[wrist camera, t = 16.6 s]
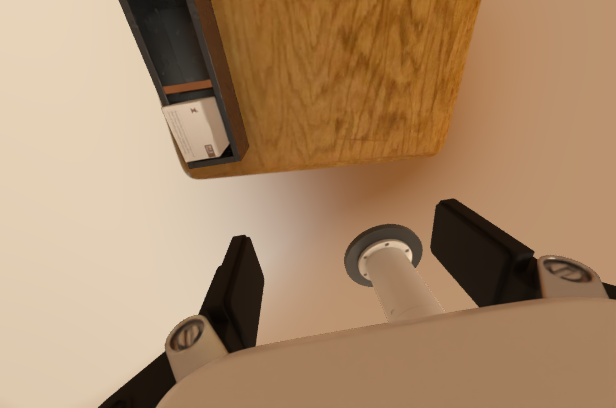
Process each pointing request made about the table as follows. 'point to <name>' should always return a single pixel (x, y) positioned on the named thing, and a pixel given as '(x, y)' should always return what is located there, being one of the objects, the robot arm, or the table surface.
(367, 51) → the table surface
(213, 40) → the caddy
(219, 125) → the cosmetic box
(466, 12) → the table surface
